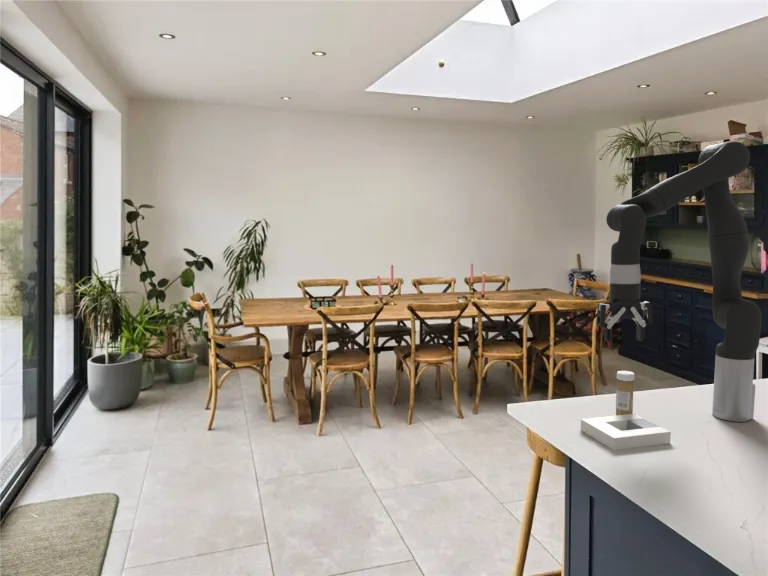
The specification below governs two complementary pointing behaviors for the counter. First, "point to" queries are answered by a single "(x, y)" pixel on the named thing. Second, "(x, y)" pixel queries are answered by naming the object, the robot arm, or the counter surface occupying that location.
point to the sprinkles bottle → (624, 392)
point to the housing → (625, 431)
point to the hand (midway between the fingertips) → (624, 341)
